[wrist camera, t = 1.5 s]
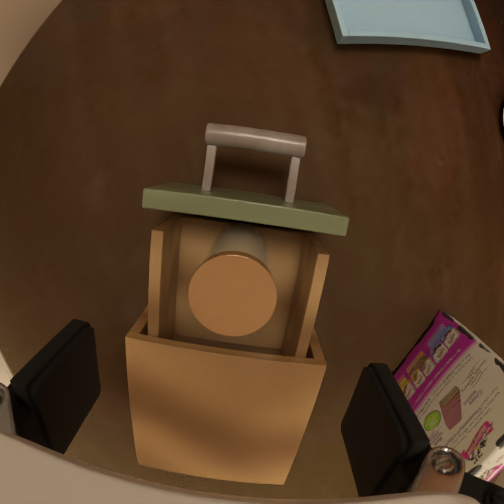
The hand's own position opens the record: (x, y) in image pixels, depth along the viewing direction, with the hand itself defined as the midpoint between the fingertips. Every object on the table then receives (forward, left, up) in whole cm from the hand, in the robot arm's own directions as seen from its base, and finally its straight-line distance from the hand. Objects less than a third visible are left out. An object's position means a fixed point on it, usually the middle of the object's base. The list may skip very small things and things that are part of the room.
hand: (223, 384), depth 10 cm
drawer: (0, 0, -17) cm, 17 cm away
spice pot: (0, 0, -16) cm, 16 cm away
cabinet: (0, -12, -18) cm, 22 cm away
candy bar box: (+21, -9, -18) cm, 29 cm away
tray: (+11, +26, -18) cm, 34 cm away
